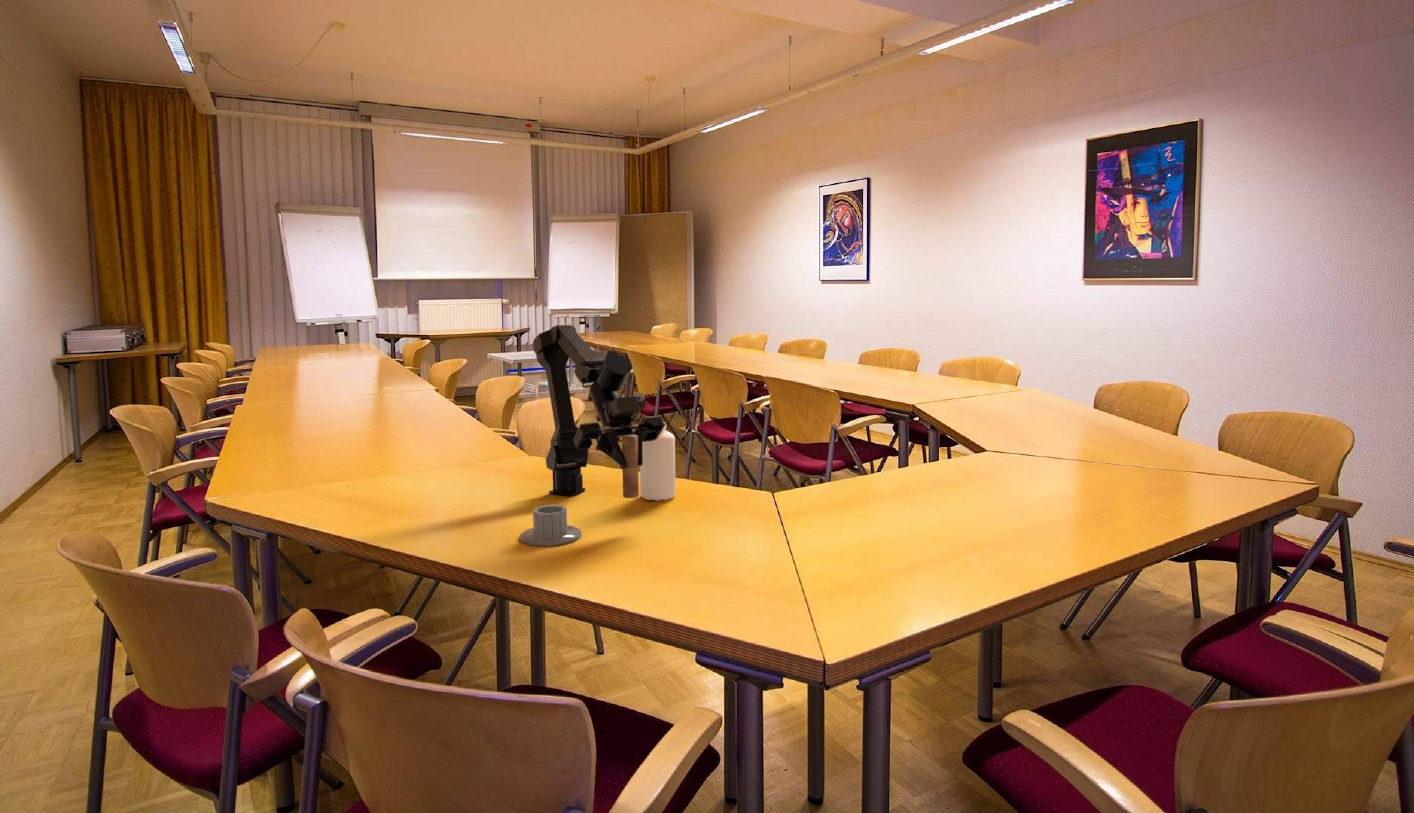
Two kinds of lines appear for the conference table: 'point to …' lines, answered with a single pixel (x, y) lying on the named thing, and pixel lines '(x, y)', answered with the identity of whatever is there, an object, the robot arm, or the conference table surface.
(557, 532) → the grey flared collar base
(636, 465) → the brown wooden dowel
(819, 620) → the conference table surface
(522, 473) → the conference table surface
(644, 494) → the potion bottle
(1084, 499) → the conference table surface
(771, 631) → the conference table surface
